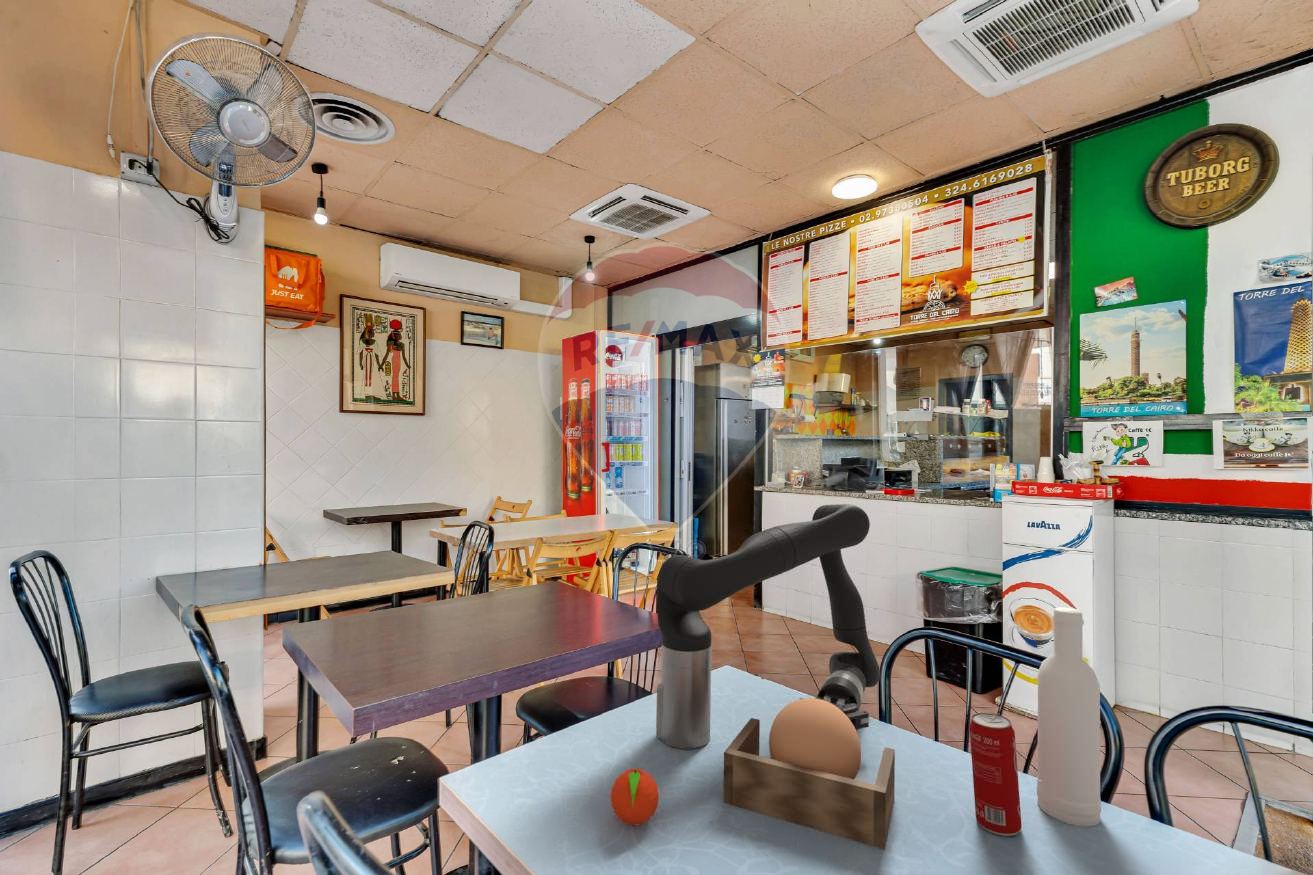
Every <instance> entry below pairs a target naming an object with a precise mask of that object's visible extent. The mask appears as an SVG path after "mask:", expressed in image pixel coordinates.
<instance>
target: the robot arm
mask: <svg viewBox="0 0 1313 875" xmlns="http://www.w3.org/2000/svg"><path fill="white" fill-rule="evenodd" d="M870 525H871V523H870V519H869V516H868V513H866V512H865V511H864V509H862V508H861V507H859V506H857V505H854V504H850V503H844V504H843V503H842V504H840V503H839V504H824V505H823V504H822V505H820V506H819V507H817V508H816V509H815V511H814V513H813V516H812V519H811V520H808V521H800V522H793V523H787V524H782V525H781V524H780V525H777V526H773V527H770V528H768V529H765V530H761V531H759V532H756V533H754V534H752V535H750V536H748V538H746V539H745V541H743V542H742V544H741V545H740V547H739V548H738V549H737V550H736V551H734V552H732V553H729V554H727V555H723V556H720V557H716V558H712V559H699V558H695V557H691V556H689V555H683V554H675V555H672V556H670V557H669V558H666V560H664V562H663V563H662V565H661V567H660V569H659V572H658V575H657V580H656V606H657V607H656V609H657V611H656V612H657V625H658V629H659V631H660V635H661V676H660V677H661V682H660V683H659V684H658V685H657V686H656V720H655V721H656V723H655V724H656V725H655V727H656V728H655V730H656V731H655V735H656V736H655V738H656V739H658V740H661V741H662V742H663V743H665V744H666V745H668V746H670V747H673V748H677V749H686V750H687V749H696V748H697V749H698V748H700V747H703V746H705V745H707V744H708V743H709V742H710V741H711V706H712V705H711V701H712V700H711V698H712V697H711V696H712V692H711V690H712V686H711V685H712V682H711V681H712V631H711V628H710V627H709V625H707V623H706V621H704V619H703V618H702V616H701V613H700V612H701V611H705V610H707V609H710V608H711V607H714V606H715V605H717V604H719V603H721V602H722V601H725V600H726V599H727V598H729V597H731V596H732V595H734V594H736V593H738V592H740V591H742V590H744V589H746V588H749V587H751V586H753V585H756V584H759V583H761V582H763V581H766V580H769V579H771V578H774V577H777V576H779V575H782V574H784V573H787V572H790V571H791V570H794V569H795V568H797V567H799V566H801V565H804V564H806V563H809V562H812V561H813V560H815V559H817V558H819V561H820V564H821V568H822V572H823V577H824V580H825V583H826V588H827V592H828V597H829V606H830V612H831V613H830V614H831V623H832V632H833V636H834V639H835V640H836V641H838V642H840V643H843V644H847V645H850V646H852V647H854V648H855V649H856V650H857V652H853V651H852V652H851V651H838V652H835V653H832V655H830V658H829V662H828V663H829V664H828V669H829V674H830V675H828V677H827V678H826V679H825V681H824V683H823V684H822V686H821V687H820V689H819V691H818V693H817V695H816V697H814V698H815V699H821V700H824V701H827V702H829V703H831V704H833V705H834V706H836V707H838V708H839V709H840V710H841V711H842V712H843V713H844V714H845V715H846V716H847V717H848V718H849V720H850V721H851V722H852V724H853V725H854V727H855V729H856V731H858V730H861V729H865V728H869V725H870V724H869V723H870V717H869V716H870V714H869V713H870V712H869V711H868V710H860V708H861V706H862V703H863V698H864V693H865V690H866V688H873V687H875V686H877V684H878V683H879V682H880V679H881V669H880V666H879V663H878V662H879V661H878V660H877V658H876V656H875V653H874V651H873V648H872V646H871V643H870V640H869V637H868V631H867V625H866V618H865V617H866V616H865V608H864V602H863V600H862V597H861V594H860V592H859V590H858V588H857V586H856V585H855V583H854V581H853V579H852V578H851V576H850V575H849V572H848V571H847V568H846V566H845V563H844V560H843V557H842V556H843V555H842V550H843V549H846V548H851V547H856V546H858V545H860V544H861V543H862V542H864V540H865V539H866V538H867V536H868V534H869V533H870V532H869V530H870V527H871V526H870ZM799 699H804V698H799Z"/></svg>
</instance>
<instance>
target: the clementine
mask: <svg viewBox="0 0 1313 875" xmlns="http://www.w3.org/2000/svg"><path fill="white" fill-rule="evenodd" d="M659 794H660V793H659V788H658V785H657V783H656V780H655V779H654V778H653V777H652V775H651V774H650V773H648V772H647V771H645V770H642V769H639V768H630V769H627V770H626V771H623V773H621V774H619V775H618V777H617V778H616V779H615V780H614V783H613V785H612V787H611V792H610V803H611V808H612V809H613V810H612V811H613V812H614V815H615V816H616V817H617V818H618V820H619V821H621V822H623V823H624V824H626V825H629V826H638V825H642V824H644V823H646V822H647V821H649V820H650V819H651V818H652V816H654V814H655V812H656V810H657V808H658V805H659V799H660V795H659Z"/></svg>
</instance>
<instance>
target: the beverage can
mask: <svg viewBox="0 0 1313 875" xmlns="http://www.w3.org/2000/svg"><path fill="white" fill-rule="evenodd" d="M969 737H970V738H969V740H970V753H971V754H970V755H971V769H972V782H973V796H974V798H973V800H974V811H975V819H976V821H977V823H978V825H979V826H980V827H981V828H983V829H984V830H986V831H987V832H989V833H991V834H995V835H997V836H1005V837H1009V836H1011V837H1012V836H1015V835H1017V834H1019V833H1020V832H1021V830H1022V826H1023V825H1022V813H1021V798H1020V788H1019V785H1020V784H1019V775H1018V774H1019V771H1018V770H1019V769H1018V759H1017V746H1016V732H1015V730H1014V728H1013V725H1012V722H1011V721H1010V719H1008V718H1007V717H1005V716H1003V715H1000V714H995V713H988V712H979V713H974V714H973V715H972V716H971V720H970V723H969Z"/></svg>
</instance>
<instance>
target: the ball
mask: <svg viewBox="0 0 1313 875" xmlns="http://www.w3.org/2000/svg"><path fill="white" fill-rule="evenodd" d="M815 698H816V697H814V698H813V697H806V698H803V699H800V698H799V699H796V700H794V701H792V702H790V703H788V704H786V705H785V706H784V707H783V708H782V709H781V710H780V711H779V712H778V714H776V716H775V718H774V720H773V721H772V725H771V727H770V731H769V735H768V745H769V747H768V749H769V755H770V759H773V760H777V761H781V762H785V763H789V764H793V765H797V766H801V767H805V768H810V769H814V770H818V771H822V772H826V773H830V774H834V775H838V776H842V777H846V778H850V779H854V780H856V778H857V775H858V773H859V770H860V767H861V763H862V762H861V761H862V747H861V746H862V745H861V741H860V738H859V735H858V734H859V733H858V732H857V730H856V729H855V727H854V725H853V724H852V722H851V721H850V720H849V718H848V717H847V716H846V715H845V714H844V713H843V712H842V711H841V710H840V709H839V708H838V707H836V706H834V705H833V704H831V703H829V702H827V701H824V700H821V699H815Z"/></svg>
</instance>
